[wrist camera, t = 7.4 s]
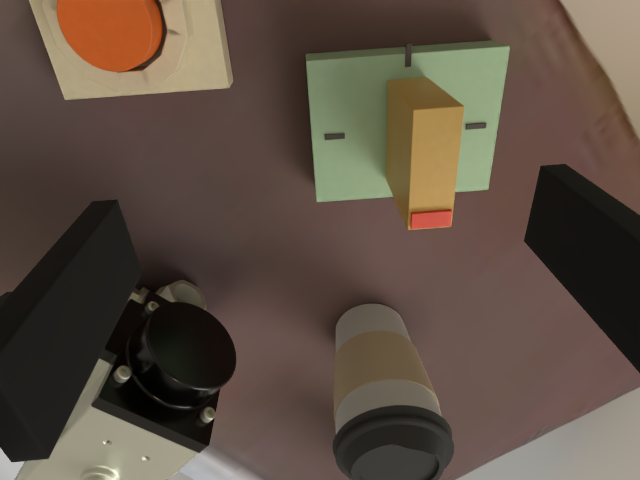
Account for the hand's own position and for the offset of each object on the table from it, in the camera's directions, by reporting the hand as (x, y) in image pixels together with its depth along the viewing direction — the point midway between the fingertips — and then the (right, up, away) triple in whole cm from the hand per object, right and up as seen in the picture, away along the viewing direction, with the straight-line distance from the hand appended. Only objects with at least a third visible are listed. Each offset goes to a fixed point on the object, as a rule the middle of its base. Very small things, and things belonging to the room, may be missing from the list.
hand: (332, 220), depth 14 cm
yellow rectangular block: (+6, +7, +16) cm, 18 cm away
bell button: (-12, +12, +11) cm, 21 cm away
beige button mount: (-12, +14, +14) cm, 24 cm away
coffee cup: (+5, -10, +30) cm, 32 cm away
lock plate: (+5, +8, +19) cm, 21 cm away
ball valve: (-16, -7, +27) cm, 32 cm away
